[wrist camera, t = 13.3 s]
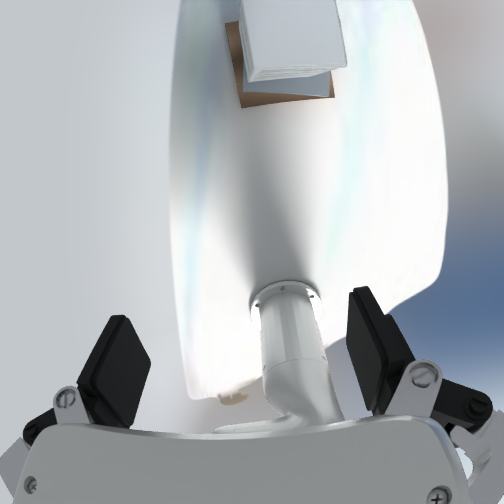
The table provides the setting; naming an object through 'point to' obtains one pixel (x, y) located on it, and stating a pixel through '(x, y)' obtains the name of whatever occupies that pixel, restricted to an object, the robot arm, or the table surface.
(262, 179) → the table surface
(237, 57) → the walnut base slab
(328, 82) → the slate grey slab
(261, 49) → the supplement box
